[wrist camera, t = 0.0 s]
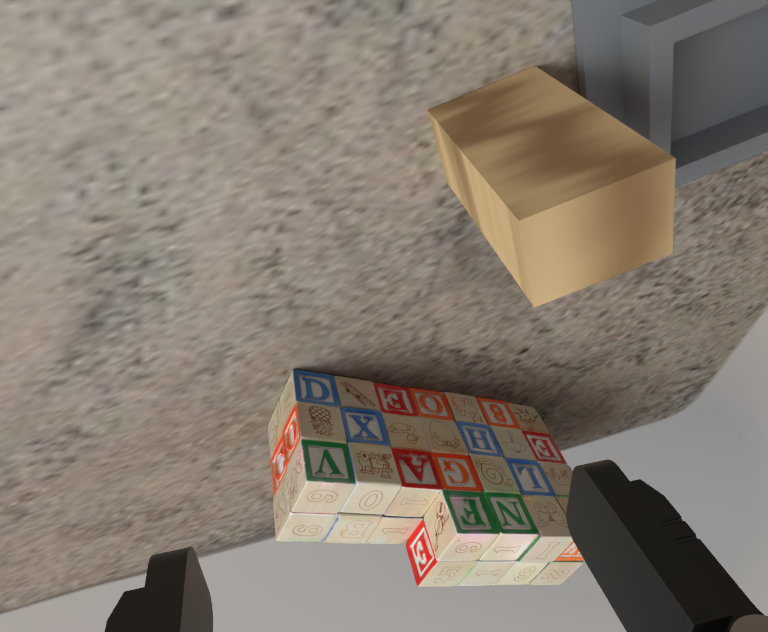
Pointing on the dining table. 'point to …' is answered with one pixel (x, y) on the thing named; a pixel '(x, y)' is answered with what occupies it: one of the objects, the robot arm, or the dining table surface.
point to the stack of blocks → (422, 479)
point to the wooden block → (555, 183)
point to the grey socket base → (679, 75)
